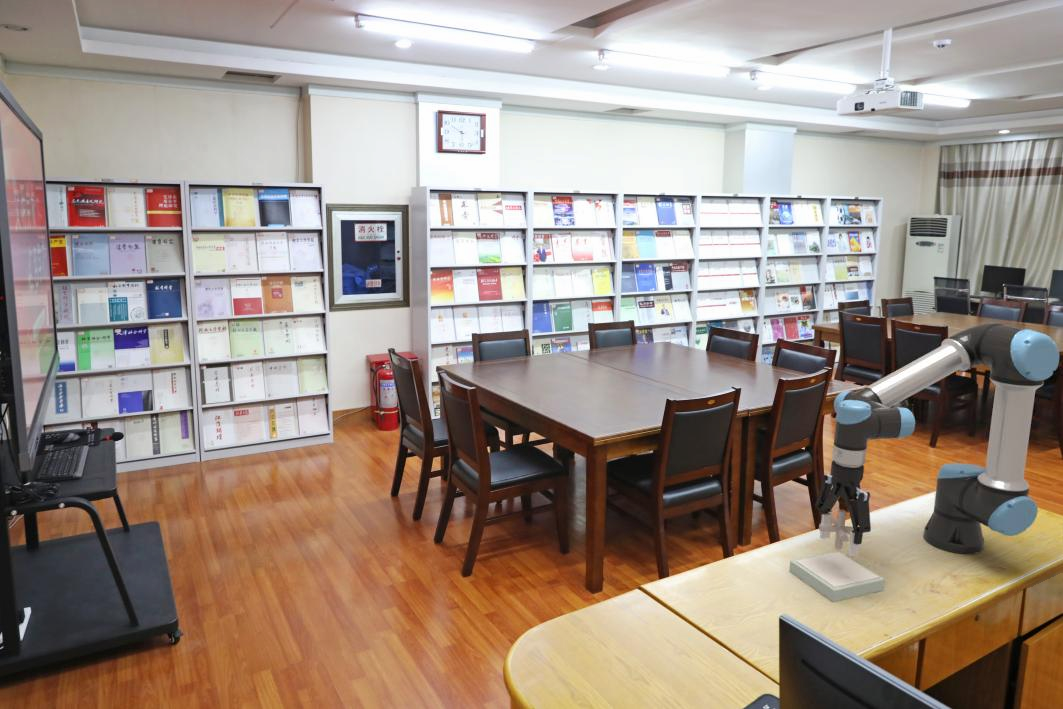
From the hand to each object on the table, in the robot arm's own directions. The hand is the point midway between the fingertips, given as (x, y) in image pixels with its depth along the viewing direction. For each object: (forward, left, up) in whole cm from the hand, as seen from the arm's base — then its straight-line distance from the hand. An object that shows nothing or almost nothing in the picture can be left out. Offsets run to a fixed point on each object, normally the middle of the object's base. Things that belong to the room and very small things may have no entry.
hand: (838, 545), depth 190 cm
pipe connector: (0, 0, -1) cm, 1 cm away
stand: (0, 0, -10) cm, 10 cm away
